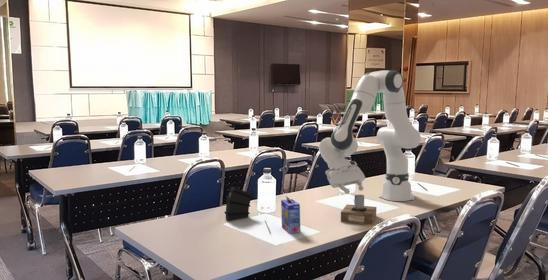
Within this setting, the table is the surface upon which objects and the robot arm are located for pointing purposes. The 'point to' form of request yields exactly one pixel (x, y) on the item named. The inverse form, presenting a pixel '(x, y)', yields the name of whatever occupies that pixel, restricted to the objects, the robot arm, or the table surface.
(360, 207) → the barrel peg
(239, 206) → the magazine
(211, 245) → the table surface
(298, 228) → the ink cartridge box
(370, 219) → the socket block
